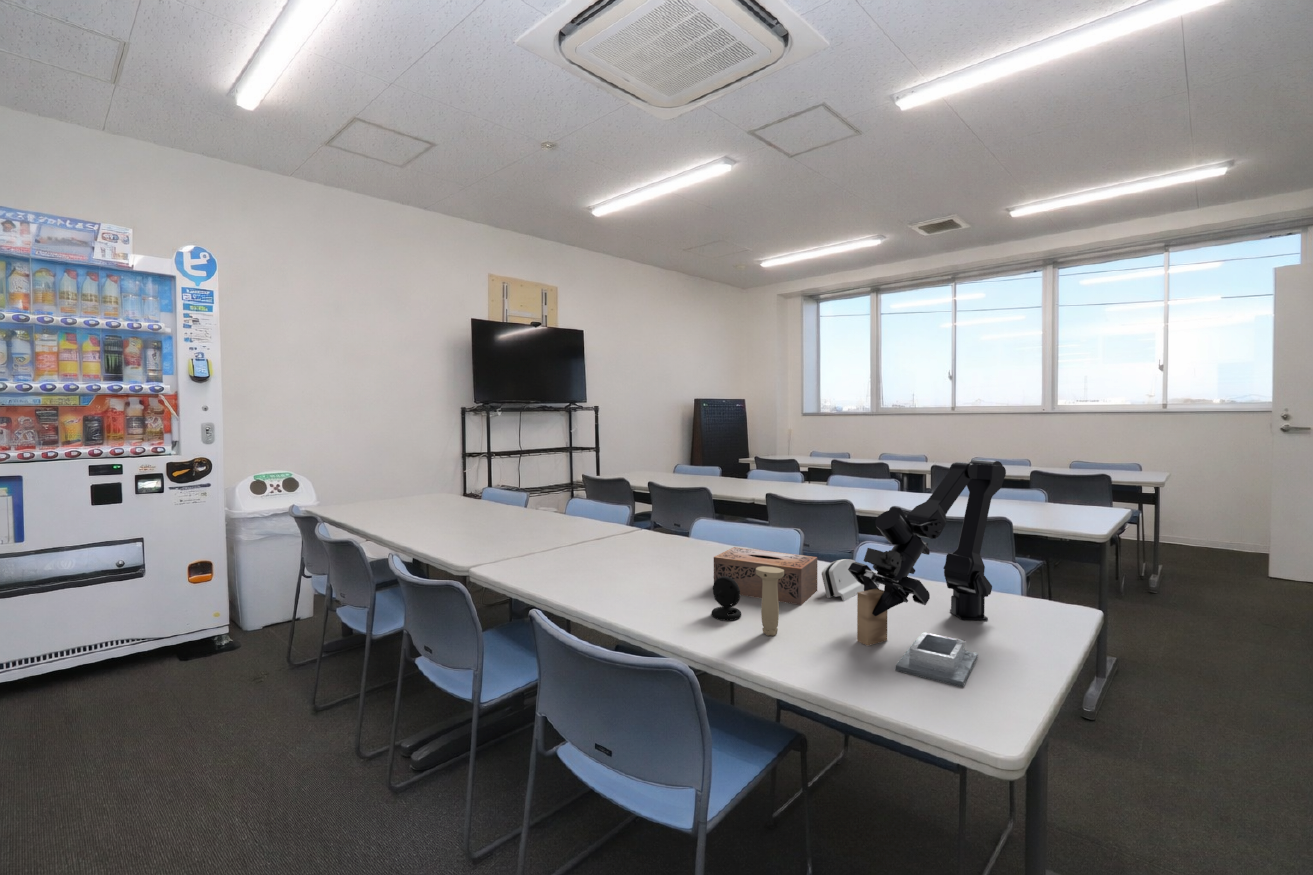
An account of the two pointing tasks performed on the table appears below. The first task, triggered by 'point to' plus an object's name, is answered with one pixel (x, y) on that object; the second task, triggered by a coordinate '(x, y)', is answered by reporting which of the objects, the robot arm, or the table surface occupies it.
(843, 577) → the hinge
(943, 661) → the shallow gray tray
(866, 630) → the tan tall block
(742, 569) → the tissue box cover
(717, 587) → the webcam
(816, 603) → the table surface
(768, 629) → the handle
